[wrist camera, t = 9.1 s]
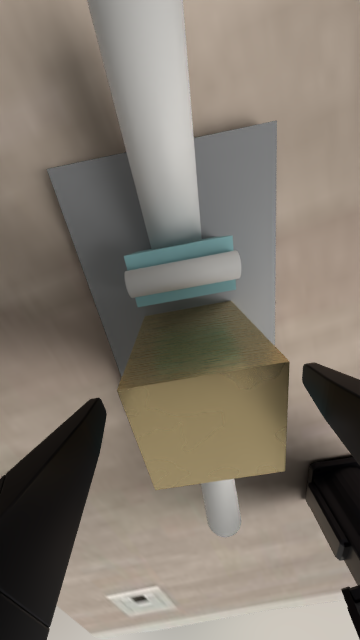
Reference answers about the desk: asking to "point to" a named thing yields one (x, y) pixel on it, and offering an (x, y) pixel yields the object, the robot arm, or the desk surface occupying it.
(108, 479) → the desk surface
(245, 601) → the desk surface
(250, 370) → the block
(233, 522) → the coupling stand
